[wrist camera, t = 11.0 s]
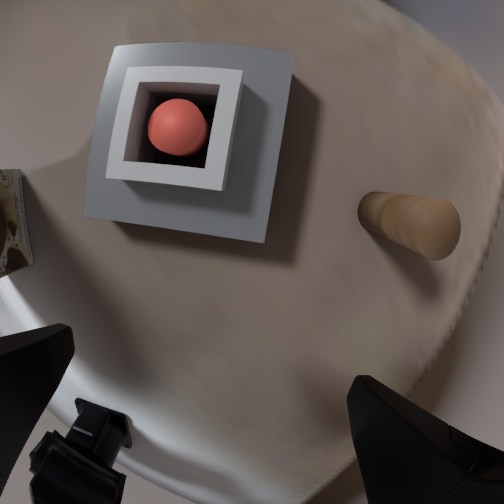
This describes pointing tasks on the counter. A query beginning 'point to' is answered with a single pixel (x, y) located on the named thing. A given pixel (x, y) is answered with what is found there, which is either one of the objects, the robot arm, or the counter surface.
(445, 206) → the tapered wooden peg
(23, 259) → the coffee box
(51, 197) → the counter surface
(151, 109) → the button box
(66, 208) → the counter surface
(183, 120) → the plunger
